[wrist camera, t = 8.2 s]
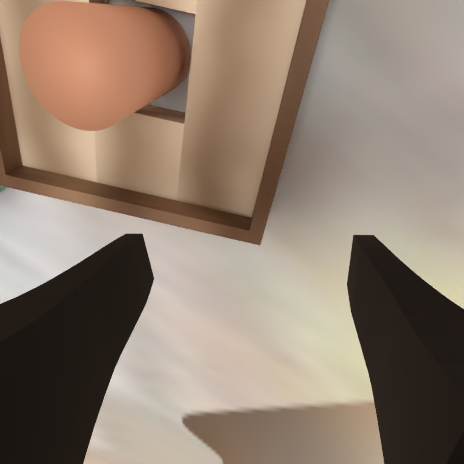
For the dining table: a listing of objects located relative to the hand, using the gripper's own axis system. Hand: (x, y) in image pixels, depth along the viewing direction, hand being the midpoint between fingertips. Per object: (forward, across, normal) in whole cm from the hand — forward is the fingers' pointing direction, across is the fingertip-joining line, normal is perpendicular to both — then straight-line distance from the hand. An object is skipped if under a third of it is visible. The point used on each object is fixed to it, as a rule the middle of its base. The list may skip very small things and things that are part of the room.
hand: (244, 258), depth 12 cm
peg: (+10, +6, -6) cm, 13 cm away
